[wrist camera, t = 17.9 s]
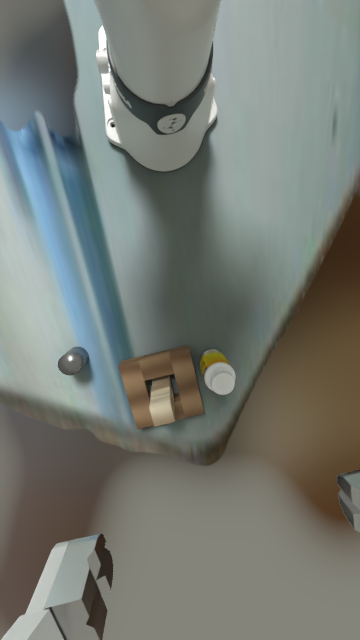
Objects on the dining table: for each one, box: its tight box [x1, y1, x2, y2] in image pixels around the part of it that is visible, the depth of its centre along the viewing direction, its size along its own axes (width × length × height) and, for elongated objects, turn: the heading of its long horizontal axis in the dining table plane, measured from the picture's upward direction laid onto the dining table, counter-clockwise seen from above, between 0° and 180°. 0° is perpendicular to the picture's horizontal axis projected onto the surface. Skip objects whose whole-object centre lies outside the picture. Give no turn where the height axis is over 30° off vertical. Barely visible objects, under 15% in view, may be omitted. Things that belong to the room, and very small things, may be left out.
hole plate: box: [119, 345, 204, 429], centre depth 48 cm, size 14×14×3 cm
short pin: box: [58, 347, 89, 375], centre depth 45 cm, size 4×4×4 cm
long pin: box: [149, 375, 175, 427], centre depth 44 cm, size 4×4×11 cm
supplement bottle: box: [199, 349, 236, 395], centre depth 44 cm, size 6×6×10 cm
